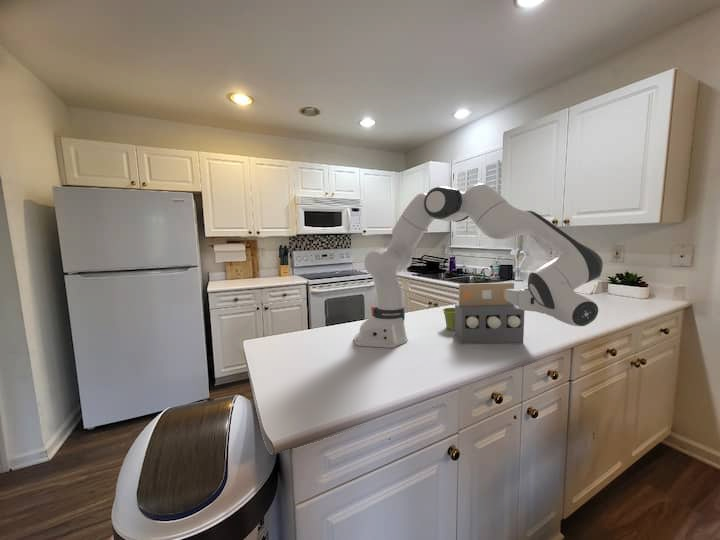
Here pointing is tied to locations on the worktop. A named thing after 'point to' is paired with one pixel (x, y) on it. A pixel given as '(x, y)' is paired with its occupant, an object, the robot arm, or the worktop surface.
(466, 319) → the left button
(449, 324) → the plant pot
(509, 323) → the right button
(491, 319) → the middle button
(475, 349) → the worktop surface
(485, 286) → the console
